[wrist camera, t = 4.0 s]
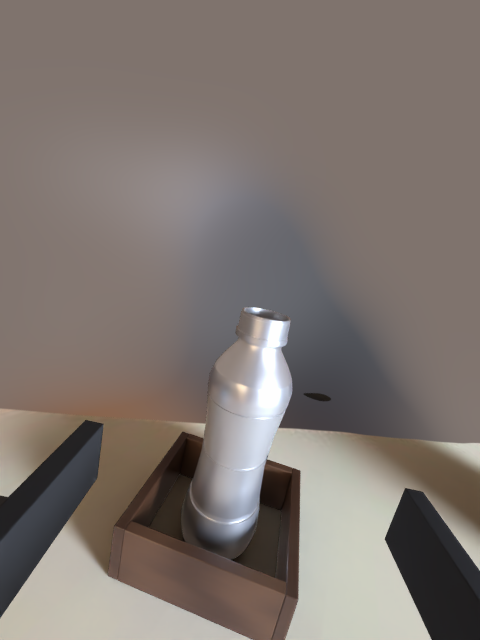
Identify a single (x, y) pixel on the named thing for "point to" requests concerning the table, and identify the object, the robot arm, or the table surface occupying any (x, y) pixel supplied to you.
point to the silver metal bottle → (238, 435)
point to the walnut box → (211, 554)
